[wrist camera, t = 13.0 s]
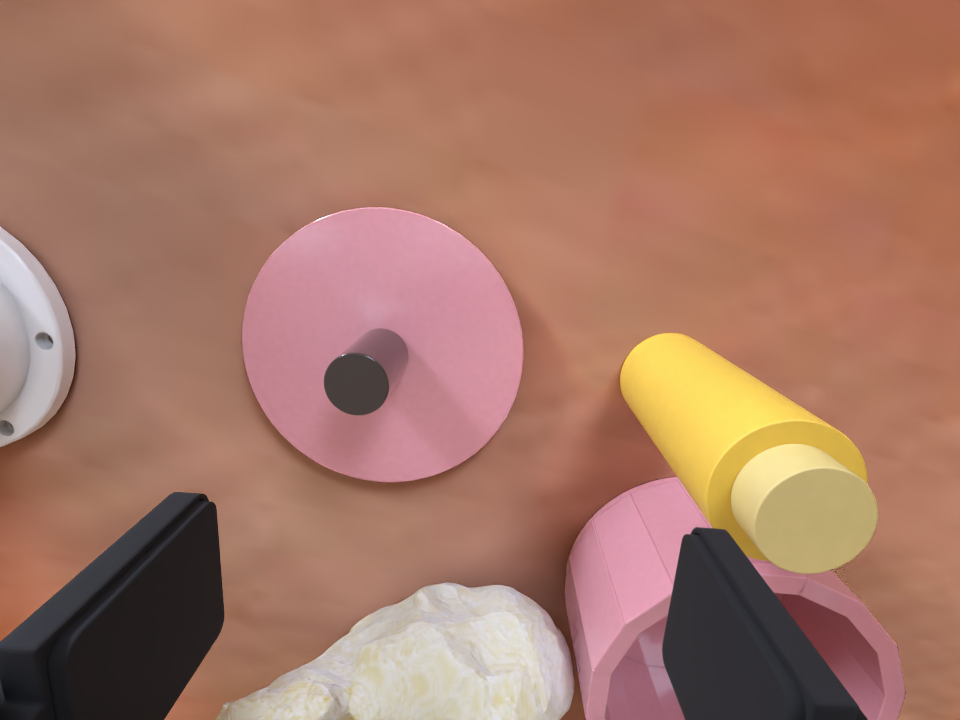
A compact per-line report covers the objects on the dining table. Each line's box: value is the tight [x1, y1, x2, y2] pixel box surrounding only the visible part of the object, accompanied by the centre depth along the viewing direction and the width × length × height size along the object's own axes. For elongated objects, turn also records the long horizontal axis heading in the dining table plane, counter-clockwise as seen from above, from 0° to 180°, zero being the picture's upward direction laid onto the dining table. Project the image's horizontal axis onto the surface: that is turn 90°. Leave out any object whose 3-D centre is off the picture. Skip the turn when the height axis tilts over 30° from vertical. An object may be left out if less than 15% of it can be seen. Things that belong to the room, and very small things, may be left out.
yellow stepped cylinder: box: [620, 333, 878, 574], centre depth 20 cm, size 5×5×13 cm
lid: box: [242, 207, 524, 482], centre depth 24 cm, size 14×14×6 cm
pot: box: [564, 477, 906, 720], centre depth 26 cm, size 13×18×8 cm
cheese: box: [215, 582, 574, 720], centre depth 28 cm, size 15×7×15 cm
